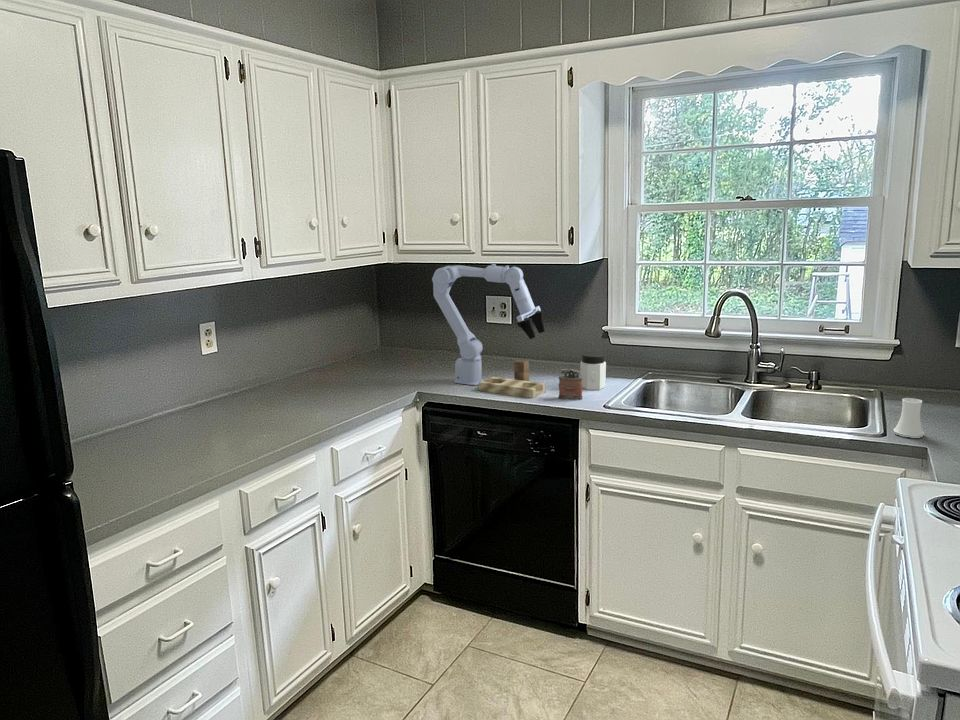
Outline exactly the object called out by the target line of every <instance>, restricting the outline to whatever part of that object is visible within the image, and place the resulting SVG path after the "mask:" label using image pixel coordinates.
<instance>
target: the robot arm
mask: <svg viewBox="0 0 960 720" xmlns="http://www.w3.org/2000/svg"><path fill="white" fill-rule="evenodd" d="M461 277H469V278H471V277H472V278H484V279H485V280H486V281H487V282H491V283H499V284H500V283H501V284H505V283H506V284H507V285H508V286H509V288H510V291H511V294H512V298H513V300H514V302H515V304H516V307H517V309H518V312H519V315H518V316H516V320H517V322H516V325H517V326H518V327H519V328H521V330H522V331H523V332H524V333H525V334H526V336H527V337H528V339H530V340H532V339H535V338H536V333H535V330H534V326H535V328H536V330H537V333H539V334H541V333H544V332H545V324H544V323H545V322H544V314H545V312H544V310H542V309H541V307H540V305H538V306H535V304H534V302H533V299H532V296H531V293H530V291H529V288H528V286H527V284H526V281H525V280H524V272H523V270H522V269H521V268H520V267H518V266H511V267H510V265H505V266H501V265H499V266H498V265H497V264H495V263H492V264H490V265H487V266H486V267H485V268H481V267H475V266H469V265H468V266H467V265H459V264H458V265H445V266H443V267H440V268H437V269H436V270H435V271H434V273H433V276H432V278H431V281H432V285H433V287H432V290H433V298H434V300H435V301H436V303H437V305H438V306H439V308H440V310H441V312H442V314H443V316H444V317H445V319H446V321H447V323H448V325H449V326H450V328H451V330H452V331H453V333H454V335H455V337H456V341H457V346H458V348H459V354H460V356H461V357H458V358H457V359H456V360H455V363H454V364H455V365H454V382H453V383H455V384H462V385H470V386H479V382H481V381H483V380H485V379H483V378H482V377H483V373H482V372H483V370H482V367H483V366H482V355H481V353H482V352H483V349H484V348H483V347H484V346H483V343H482V342H481V341H480V340H479V339H478V338H476V335H475V334H474V333H473V332H471V331H470V329H469V328H468V326H467V324H466V322H465V321H464V319H463V317H462V315H461V313H460V311H459V309H458V308H457V306H456V305H455V303H454V301H453V300H452V297H451V296H450V291H451V289H452V287H453V284H454V283H456V282H455V281H456V280H457V279H458V278H461ZM533 324H534V326H533Z"/></svg>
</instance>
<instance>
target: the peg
mask: <svg viewBox="0 0 960 720" xmlns="http://www.w3.org/2000/svg"><path fill="white" fill-rule="evenodd" d="M513 364H514V365H513V367H514V369H513V370H514V371H513V379H515V380H523V381H530V360H526V359H517V360H514V361H513Z"/></svg>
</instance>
